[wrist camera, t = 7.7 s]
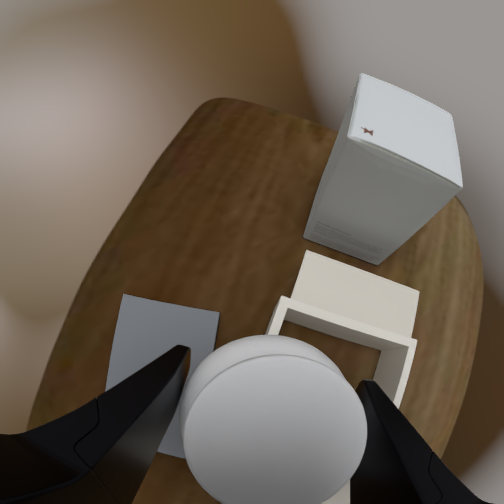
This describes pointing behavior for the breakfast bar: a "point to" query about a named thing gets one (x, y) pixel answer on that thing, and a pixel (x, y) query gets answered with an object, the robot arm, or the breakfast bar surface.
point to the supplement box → (384, 172)
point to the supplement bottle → (271, 423)
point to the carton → (355, 320)
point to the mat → (159, 346)
